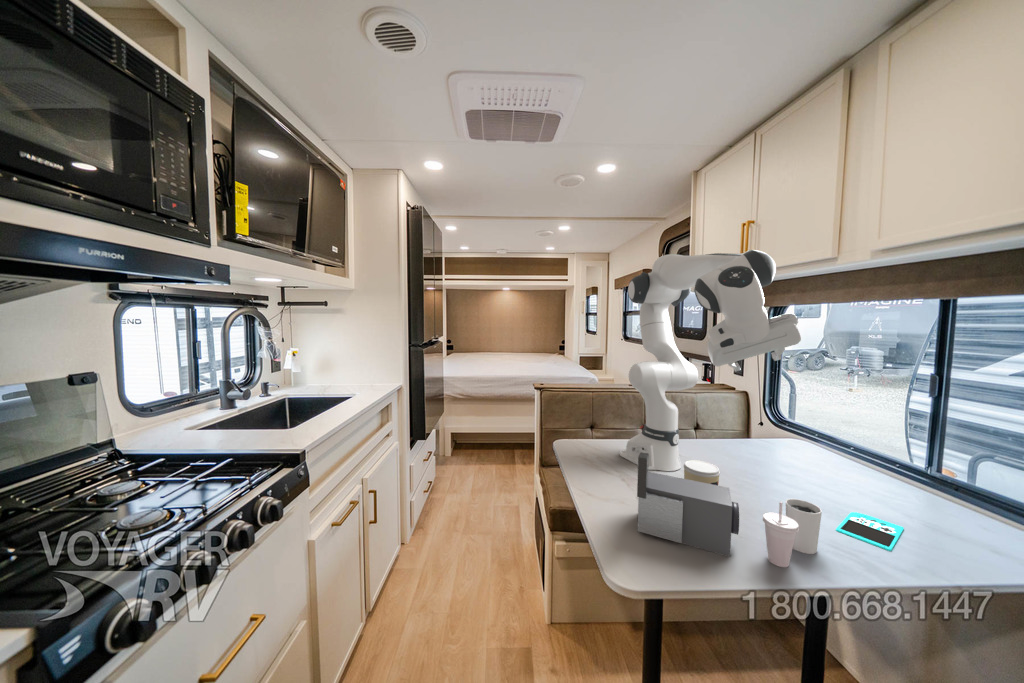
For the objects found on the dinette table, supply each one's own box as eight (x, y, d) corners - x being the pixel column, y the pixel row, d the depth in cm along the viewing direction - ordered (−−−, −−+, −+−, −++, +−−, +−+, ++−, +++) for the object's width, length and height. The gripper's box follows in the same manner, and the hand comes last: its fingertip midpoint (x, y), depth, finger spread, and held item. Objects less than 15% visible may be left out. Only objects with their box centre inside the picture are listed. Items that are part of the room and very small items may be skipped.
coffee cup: (720, 518, 95) (722, 475, 94) (682, 510, 99) (684, 469, 98) (716, 502, 103) (718, 462, 103) (681, 495, 107) (683, 457, 107)
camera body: (638, 532, 89) (639, 486, 88) (644, 512, 98) (645, 471, 97) (738, 560, 78) (740, 509, 78) (734, 535, 87) (736, 489, 87)
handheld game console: (905, 532, 90) (905, 526, 90) (892, 555, 81) (892, 549, 81) (852, 513, 98) (852, 509, 98) (835, 533, 90) (835, 528, 89)
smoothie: (758, 561, 78) (761, 501, 77) (763, 548, 82) (766, 491, 82) (794, 576, 73) (798, 512, 73) (798, 561, 78) (801, 501, 77)
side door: (636, 536, 85) (638, 457, 84) (638, 528, 88) (640, 452, 87) (681, 548, 81) (684, 465, 79) (681, 540, 84) (684, 459, 82)
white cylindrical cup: (786, 533, 88) (788, 495, 87) (820, 546, 83) (823, 506, 83) (780, 545, 84) (783, 505, 83) (817, 559, 79) (820, 517, 78)
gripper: (789, 303, 85) (795, 344, 92) (700, 332, 93) (712, 367, 100) (803, 318, 80) (808, 359, 87) (708, 347, 88) (719, 383, 95)
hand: (756, 364), depth 93 cm, fingers open, 8 cm apart
